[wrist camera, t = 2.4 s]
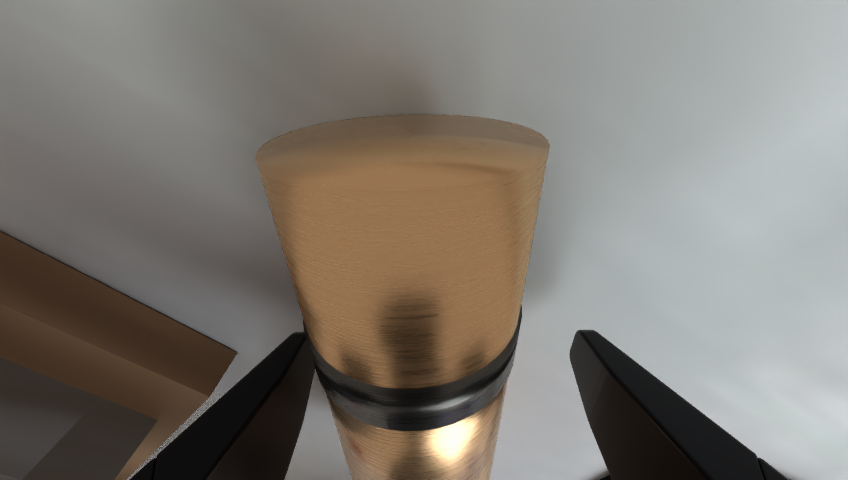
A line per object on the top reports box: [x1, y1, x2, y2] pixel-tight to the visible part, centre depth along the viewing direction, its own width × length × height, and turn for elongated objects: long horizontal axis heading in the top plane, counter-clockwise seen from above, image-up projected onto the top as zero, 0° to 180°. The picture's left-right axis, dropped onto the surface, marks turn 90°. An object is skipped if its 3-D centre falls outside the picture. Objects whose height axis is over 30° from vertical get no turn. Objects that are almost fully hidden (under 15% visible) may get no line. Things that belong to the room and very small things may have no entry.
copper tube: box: [255, 114, 549, 480], centre depth 7 cm, size 11×4×4 cm, turn 1°
